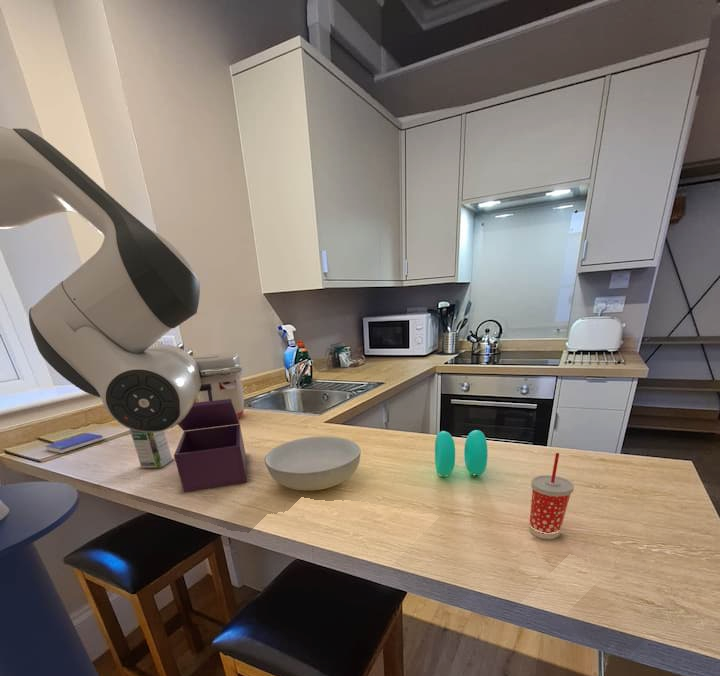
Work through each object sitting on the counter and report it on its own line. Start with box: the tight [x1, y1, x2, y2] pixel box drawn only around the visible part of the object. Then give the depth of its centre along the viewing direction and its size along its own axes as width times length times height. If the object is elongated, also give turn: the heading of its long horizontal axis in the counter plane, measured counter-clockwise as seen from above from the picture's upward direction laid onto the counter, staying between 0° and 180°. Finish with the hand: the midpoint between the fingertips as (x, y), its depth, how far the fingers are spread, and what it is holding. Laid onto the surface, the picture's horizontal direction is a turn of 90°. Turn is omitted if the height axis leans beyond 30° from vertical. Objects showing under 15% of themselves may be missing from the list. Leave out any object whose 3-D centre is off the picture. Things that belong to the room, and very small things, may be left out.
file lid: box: [177, 384, 241, 432], centre depth 91 cm, size 19×14×6 cm
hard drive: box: [45, 432, 104, 454], centre depth 121 cm, size 2×8×12 cm
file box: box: [173, 424, 248, 493], centre depth 94 cm, size 18×14×9 cm
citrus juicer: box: [197, 376, 245, 420], centre depth 135 cm, size 16×17×20 cm
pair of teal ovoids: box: [434, 429, 488, 478], centre depth 85 cm, size 10×10×10 cm
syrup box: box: [129, 429, 173, 469], centre depth 100 cm, size 6×6×14 cm
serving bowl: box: [264, 436, 362, 492], centre depth 87 cm, size 21×21×7 cm
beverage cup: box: [528, 452, 575, 540], centre depth 62 cm, size 6×6×14 cm
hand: (180, 364), depth 68 cm, fingers open, 7 cm apart
